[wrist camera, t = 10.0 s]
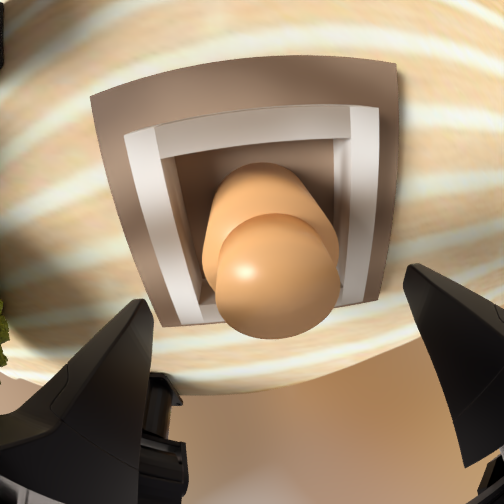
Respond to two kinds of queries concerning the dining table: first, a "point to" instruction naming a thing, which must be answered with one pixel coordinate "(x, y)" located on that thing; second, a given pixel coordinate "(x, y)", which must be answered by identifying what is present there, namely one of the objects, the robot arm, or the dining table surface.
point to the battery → (0, 26)
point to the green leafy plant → (3, 336)
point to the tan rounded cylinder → (270, 253)
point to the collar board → (246, 152)
